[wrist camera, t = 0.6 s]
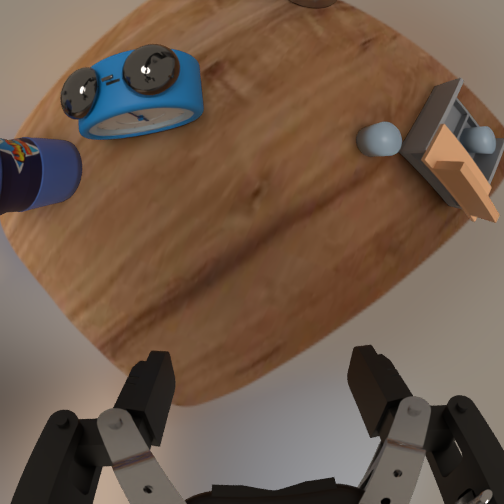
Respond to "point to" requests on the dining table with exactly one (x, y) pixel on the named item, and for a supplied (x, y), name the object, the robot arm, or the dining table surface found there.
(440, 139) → the lid
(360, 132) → the blue-grey rounded cylinder
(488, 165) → the housing
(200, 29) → the dining table surface
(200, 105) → the alarm clock
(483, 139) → the grey rounded cylinder
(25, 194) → the water bottle
